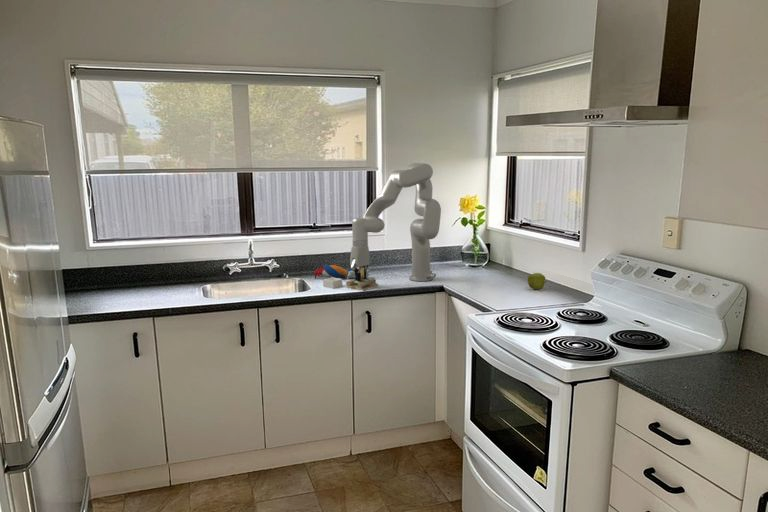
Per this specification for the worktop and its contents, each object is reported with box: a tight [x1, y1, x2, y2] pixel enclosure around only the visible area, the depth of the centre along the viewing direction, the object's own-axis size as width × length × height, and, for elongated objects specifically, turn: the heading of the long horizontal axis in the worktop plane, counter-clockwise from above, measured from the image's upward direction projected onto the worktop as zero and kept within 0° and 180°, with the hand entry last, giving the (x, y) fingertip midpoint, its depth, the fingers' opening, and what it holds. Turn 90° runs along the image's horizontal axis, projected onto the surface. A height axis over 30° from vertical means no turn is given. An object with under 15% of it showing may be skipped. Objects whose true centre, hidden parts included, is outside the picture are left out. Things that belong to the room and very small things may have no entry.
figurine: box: [314, 264, 371, 280], centre depth 301 cm, size 27×9×30 cm
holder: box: [322, 276, 343, 289], centre depth 283 cm, size 7×7×4 cm
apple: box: [527, 272, 548, 291], centre depth 270 cm, size 8×9×8 cm
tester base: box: [345, 278, 379, 291], centre depth 281 cm, size 10×12×3 cm
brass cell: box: [357, 266, 364, 282], centre depth 280 cm, size 4×4×8 cm
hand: (360, 279), depth 281 cm, fingers closed on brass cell, 3 cm apart
